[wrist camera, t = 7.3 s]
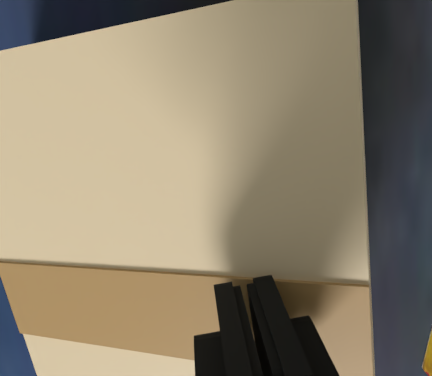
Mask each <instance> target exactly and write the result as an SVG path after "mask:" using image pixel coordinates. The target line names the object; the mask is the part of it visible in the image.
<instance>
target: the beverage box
mask: <svg viewBox="0 0 432 376" xmlns="http://www.w3.org/2000/svg"><path fill="white" fill-rule="evenodd" d="M422 368H423V369H424V371H425V372H426V373H427V374H428V376H432V328H431V333H430V337H429V341H428V345H427V349H426V353H425V357H424V361H423V365H422Z"/></svg>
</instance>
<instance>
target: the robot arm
mask: <svg viewBox="0 0 432 376" xmlns="http://www.w3.org/2000/svg"><path fill="white" fill-rule="evenodd" d="M214 292H215V299H216V306H217V313H218V321H219V328H220V331H217V332H211V333H206V334H200V335H194V360H195V376H339V374H338V372H337V370H336V368H335V366H334V364H333V362H332V360H331V358H330V356H329V354H328V352H327V350H326V348H325V345H324V343H323V341H322V339H321V337H320V335H319V333H318V331H317V329H316V327H315V325H314V323H313V321H312V319H311V318H310V316H308V315H307V316H302V317H296V318H290V317H289V315H288V313H287V310H286V308H285V305H284V303H283V301H282V298H281V296H280V293H279V291H278V289H277V286H276V284H275V281H274V279H273V277H272V275H267V276H261V277H255V278H253V283H250V284H247V292H248V299H249V306H250V313H251V320H252V327H253V334H254V338H253V334H252V330H251V326H250V322H249V318H248V314H247V310H246V306H245V302H244V299H243V295H242V291H241V287H240V285H239V286H233V284H232V282H226V283H221V284H215V285H214Z"/></svg>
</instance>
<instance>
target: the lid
mask: <svg viewBox="0 0 432 376" xmlns="http://www.w3.org/2000/svg"><path fill="white" fill-rule="evenodd" d="M267 275H272V277H273V279H274V281H275V284H276V286H277V289H278V291H279V293H280V296H281V298H282V301H283V303H284V305H285V308H286V310H287V313H288V315H289V317H290V318H296V317H302V316H307V315H308V316H310V318H311V319H312V321H313V323H314V325H315V327H316V329H317V331H318V333H319V335H320V337H321V339H322V341H323V343H324V345H325V348H326V350H327V352H328V354H329V356H330V358H331V360H332V362H333V364H334V366H335V368H336V370H337V372H338V374H339V376H375V364H374V342H373V321H372V299H371V277H370V255H369V233H368V212H367V190H366V168H365V146H364V125H363V103H362V81H361V59H360V37H359V16H358V0H233V1H228V2H223V3H219V4H214V5H209V6H205V7H200V8H196V9H191V10H186V11H182V12H177V13H173V14H168V15H163V16H159V17H154V18H149V19H145V20H140V21H136V22H131V23H126V24H122V25H117V26H113V27H108V28H103V29H99V30H94V31H89V32H85V33H80V34H76V35H71V36H66V37H62V38H57V39H53V40H48V41H43V42H39V43H34V44H29V45H25V46H20V47H16V48H11V49H6V50H2V51H0V276H1V279H2V282H3V285H4V288H5V291H6V294H7V297H8V300H9V303H10V306H11V309H12V312H13V315H14V317H15V320H16V323H17V326H18V329H19V332H20V333H22V334H23V335H24V338H25V341H26V344H27V347H28V350H29V353H30V356H31V359H32V362H33V365H34V368H35V371H36V374H37V376H195V360H194V335H200V334H206V333H211V332H217V331H220V328H219V321H218V313H217V306H216V299H215V292H214V285H215V284H221V283H226V282H232V284H233V286H239V285H240V287H241V291H242V295H243V299H244V302H245V306H246V310H247V314H248V318H249V322H250V326H251V330H252V334H253V327H252V320H251V313H250V306H249V299H248V292H247V284H250V283H253V278H255V277H261V276H267ZM253 338H254V334H253Z"/></svg>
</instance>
